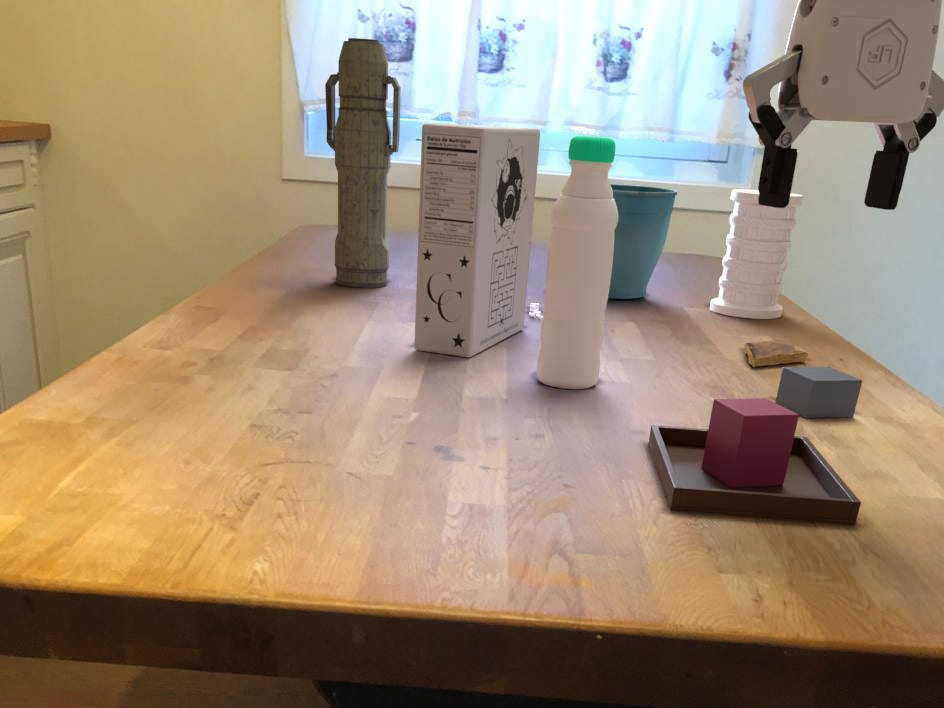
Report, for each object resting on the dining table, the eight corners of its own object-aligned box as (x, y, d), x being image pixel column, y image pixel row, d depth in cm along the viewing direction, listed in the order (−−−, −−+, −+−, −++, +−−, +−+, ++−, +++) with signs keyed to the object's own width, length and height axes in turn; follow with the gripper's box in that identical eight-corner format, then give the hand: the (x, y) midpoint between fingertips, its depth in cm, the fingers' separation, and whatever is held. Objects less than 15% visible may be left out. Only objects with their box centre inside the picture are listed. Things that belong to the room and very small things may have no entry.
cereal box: (473, 322, 140) (486, 125, 128) (524, 329, 138) (541, 129, 126) (413, 350, 122) (420, 123, 110) (470, 358, 120) (484, 128, 108)
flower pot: (542, 295, 165) (553, 184, 157) (573, 282, 180) (584, 180, 172) (648, 308, 159) (664, 194, 151) (671, 294, 174) (687, 189, 166)
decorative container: (789, 321, 157) (814, 198, 148) (716, 316, 157) (738, 193, 148) (771, 308, 167) (794, 192, 159) (703, 303, 167) (723, 187, 159)
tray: (801, 461, 91) (806, 436, 90) (854, 530, 76) (861, 502, 75) (647, 449, 91) (651, 424, 90) (669, 515, 76) (674, 487, 75)
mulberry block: (751, 466, 86) (766, 398, 83) (783, 485, 82) (799, 414, 79) (700, 468, 84) (713, 398, 82) (730, 488, 80) (744, 415, 77)
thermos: (334, 276, 169) (332, 39, 153) (401, 282, 168) (407, 43, 151) (319, 284, 162) (316, 35, 145) (389, 290, 160) (395, 39, 144)
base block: (821, 402, 111) (829, 366, 109) (853, 417, 106) (862, 380, 104) (774, 403, 109) (782, 366, 107) (805, 418, 104) (814, 380, 102)
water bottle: (587, 394, 108) (618, 139, 96) (527, 384, 110) (549, 134, 98) (604, 381, 114) (635, 139, 102) (547, 372, 116) (570, 134, 104)
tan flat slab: (751, 369, 124) (753, 354, 123) (707, 356, 129) (710, 342, 129) (808, 363, 129) (811, 349, 128) (765, 350, 135) (767, 337, 134)
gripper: (803, -83, 62) (755, 210, 71) (1021, -58, 67) (952, 213, 75) (741, -67, 69) (703, 201, 77) (945, -46, 73) (888, 204, 82)
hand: (826, 207), depth 76 cm, fingers open, 9 cm apart
